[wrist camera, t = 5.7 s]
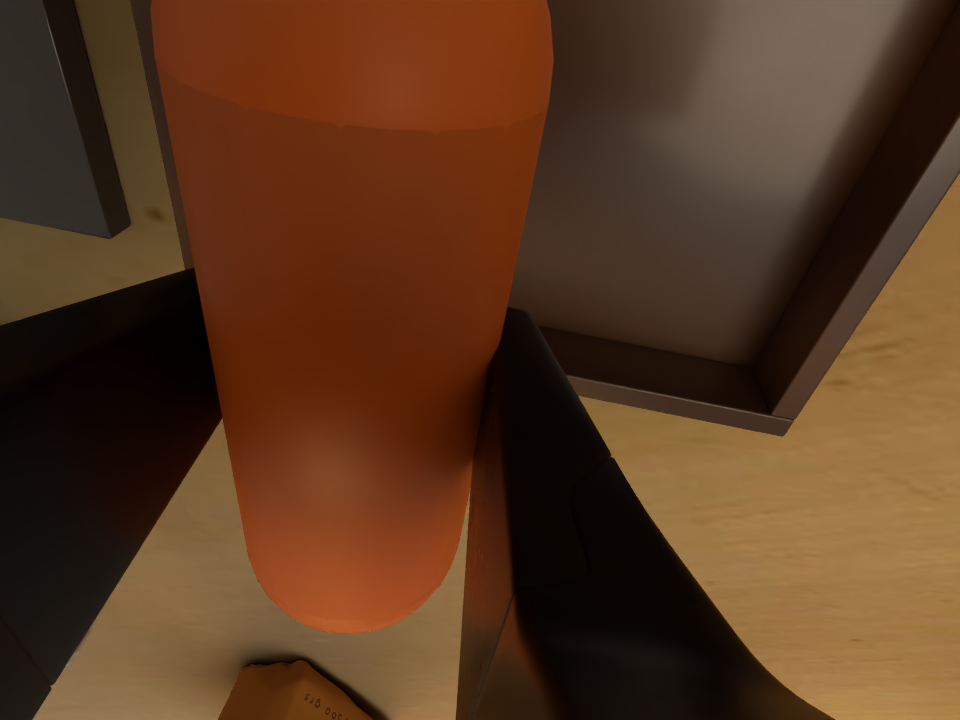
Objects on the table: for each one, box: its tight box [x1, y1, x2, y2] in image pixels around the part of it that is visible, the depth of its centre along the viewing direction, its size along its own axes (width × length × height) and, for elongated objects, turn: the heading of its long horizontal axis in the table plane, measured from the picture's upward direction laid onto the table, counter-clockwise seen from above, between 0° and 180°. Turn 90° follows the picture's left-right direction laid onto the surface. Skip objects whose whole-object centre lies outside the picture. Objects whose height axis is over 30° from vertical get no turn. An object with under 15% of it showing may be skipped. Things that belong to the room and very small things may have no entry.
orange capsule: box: [150, 0, 554, 634], centre depth 8 cm, size 11×4×4 cm, turn 172°
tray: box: [130, 0, 960, 436], centre depth 16 cm, size 15×20×3 cm
